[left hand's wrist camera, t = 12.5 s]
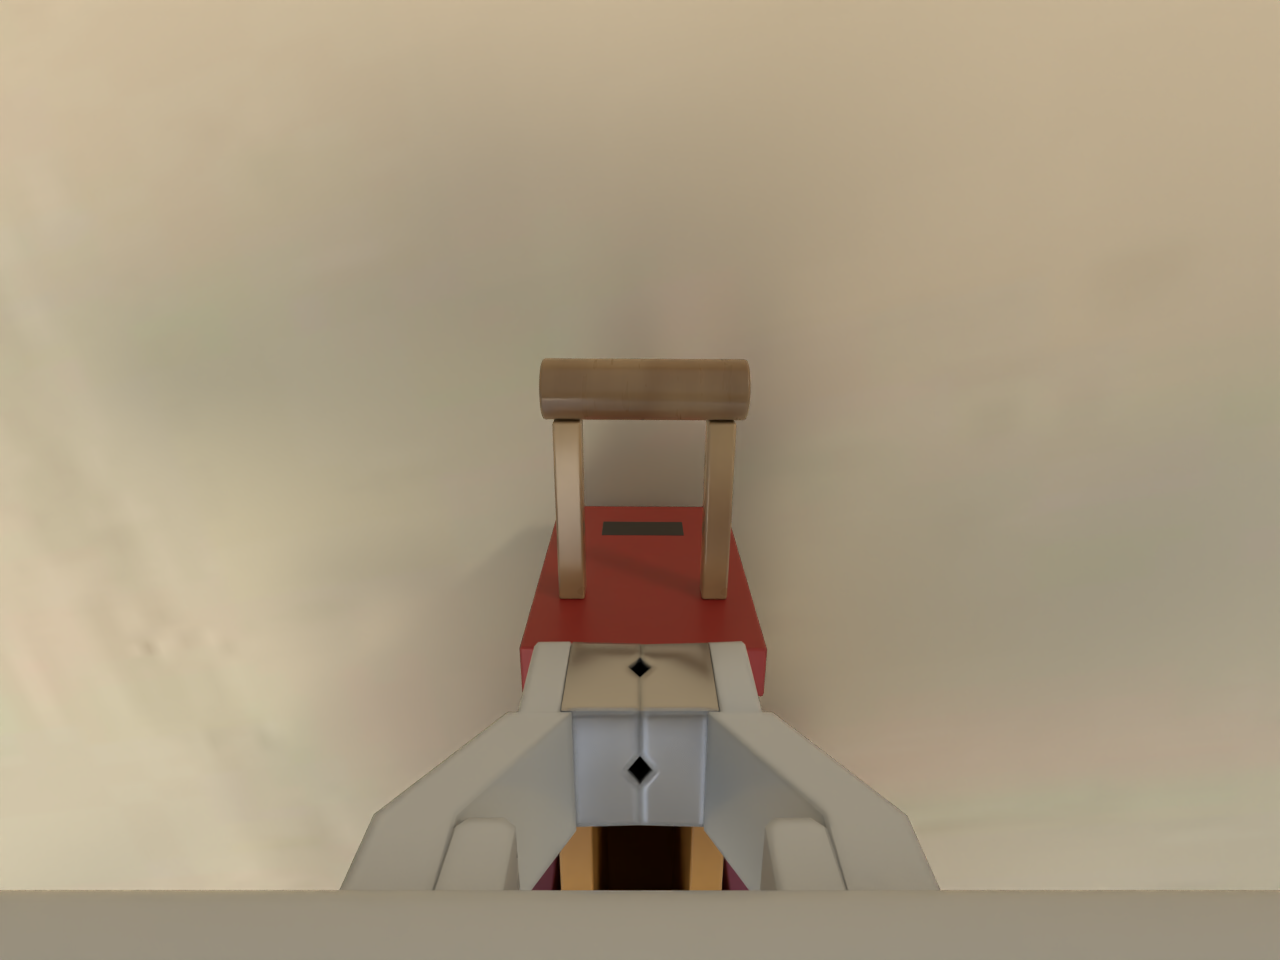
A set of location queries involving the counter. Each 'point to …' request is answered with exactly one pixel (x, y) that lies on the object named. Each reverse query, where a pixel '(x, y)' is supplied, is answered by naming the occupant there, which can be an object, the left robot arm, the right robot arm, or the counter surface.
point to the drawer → (643, 576)
